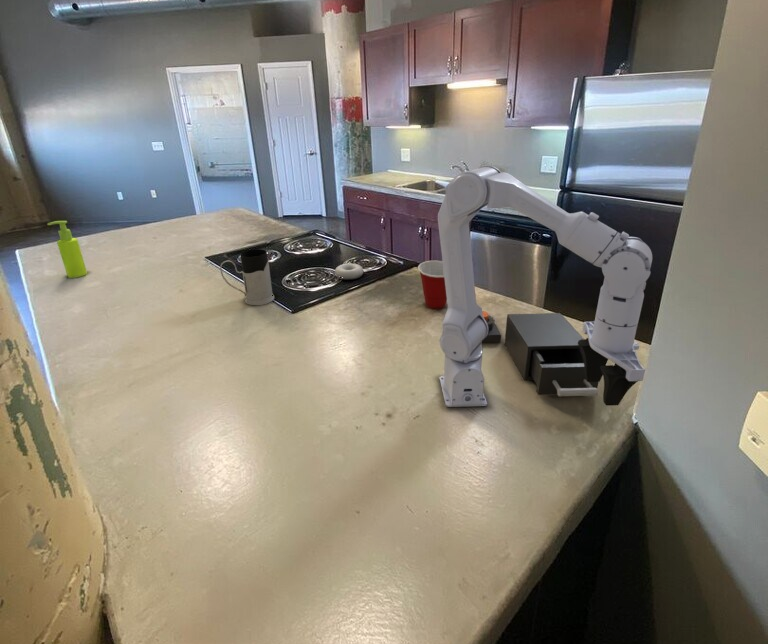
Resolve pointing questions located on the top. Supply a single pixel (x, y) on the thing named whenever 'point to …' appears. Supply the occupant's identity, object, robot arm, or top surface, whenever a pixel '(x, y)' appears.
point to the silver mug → (255, 277)
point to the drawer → (560, 373)
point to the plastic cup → (433, 283)
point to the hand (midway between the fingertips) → (601, 392)
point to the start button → (485, 315)
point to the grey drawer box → (537, 336)
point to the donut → (349, 271)
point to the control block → (492, 332)
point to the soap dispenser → (70, 252)
